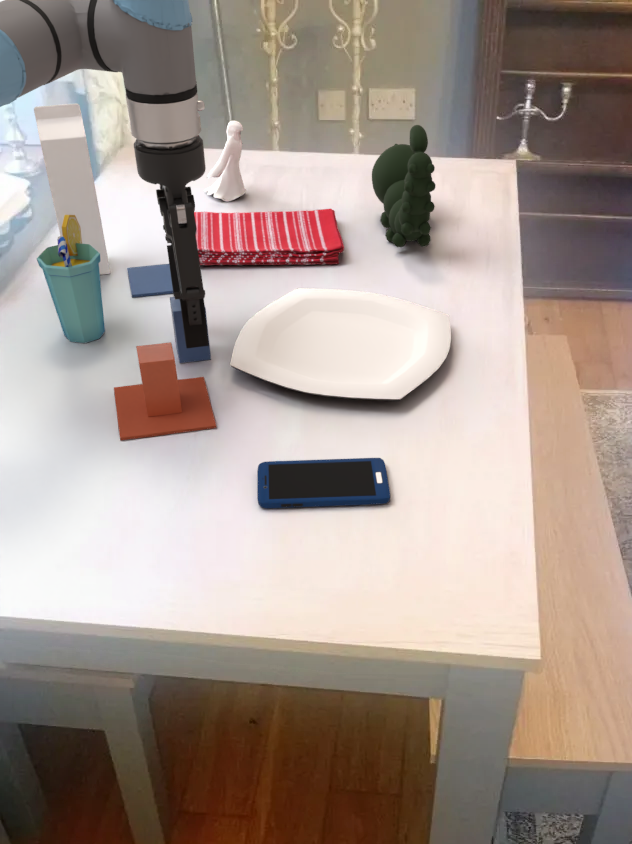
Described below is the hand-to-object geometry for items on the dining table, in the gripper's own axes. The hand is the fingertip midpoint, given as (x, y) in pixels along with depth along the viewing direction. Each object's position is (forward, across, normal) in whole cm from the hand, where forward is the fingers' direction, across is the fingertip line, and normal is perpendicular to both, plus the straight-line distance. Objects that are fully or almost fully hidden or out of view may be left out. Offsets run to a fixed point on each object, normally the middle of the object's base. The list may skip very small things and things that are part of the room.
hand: (190, 319), depth 112 cm
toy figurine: (+5, +31, -37) cm, 49 cm away
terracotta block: (+4, -12, +5) cm, 14 cm away
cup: (+5, +8, +14) cm, 16 cm away
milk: (+5, +29, +12) cm, 32 cm away
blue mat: (+5, +22, +2) cm, 23 cm away
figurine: (+5, +52, -12) cm, 54 cm away
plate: (+5, -4, -19) cm, 20 cm away
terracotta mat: (+5, -12, +5) cm, 14 cm away
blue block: (+5, 0, 0) cm, 5 cm away
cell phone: (+5, -31, -10) cm, 33 cm away
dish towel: (+5, +31, -15) cm, 35 cm away
